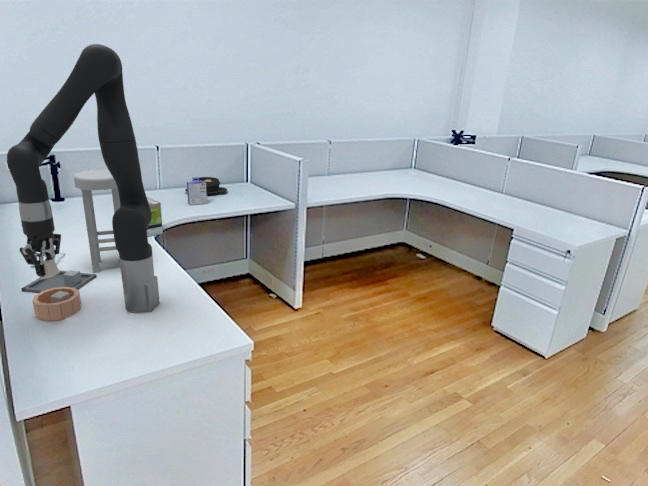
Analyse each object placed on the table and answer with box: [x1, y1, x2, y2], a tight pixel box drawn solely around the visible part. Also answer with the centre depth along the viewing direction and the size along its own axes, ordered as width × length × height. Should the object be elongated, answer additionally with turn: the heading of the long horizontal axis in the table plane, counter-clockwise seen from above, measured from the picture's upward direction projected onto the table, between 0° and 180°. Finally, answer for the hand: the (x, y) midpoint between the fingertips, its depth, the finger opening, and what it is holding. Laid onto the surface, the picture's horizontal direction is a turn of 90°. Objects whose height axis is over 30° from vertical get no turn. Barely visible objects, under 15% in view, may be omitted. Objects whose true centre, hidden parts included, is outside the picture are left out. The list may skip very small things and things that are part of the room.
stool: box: [73, 169, 120, 274], centre depth 162 cm, size 16×16×35 cm
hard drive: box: [30, 252, 66, 269], centre depth 169 cm, size 2×8×12 cm
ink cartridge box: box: [186, 177, 208, 206], centre depth 249 cm, size 10×6×14 cm, turn 118°
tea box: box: [146, 196, 163, 238], centre depth 202 cm, size 15×10×15 cm, turn 47°
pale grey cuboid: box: [50, 291, 70, 303], centre depth 135 cm, size 4×4×4 cm
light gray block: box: [63, 270, 82, 288], centre depth 150 cm, size 4×4×4 cm
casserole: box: [184, 176, 228, 196], centre depth 273 cm, size 25×19×8 cm
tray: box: [20, 269, 98, 294], centre depth 152 cm, size 16×15×1 cm
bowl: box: [32, 287, 82, 322], centre depth 135 cm, size 12×12×5 cm
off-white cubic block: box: [34, 259, 60, 280], centre depth 129 cm, size 4×4×4 cm
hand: (46, 272), depth 130 cm, fingers closed on off-white cubic block, 3 cm apart
